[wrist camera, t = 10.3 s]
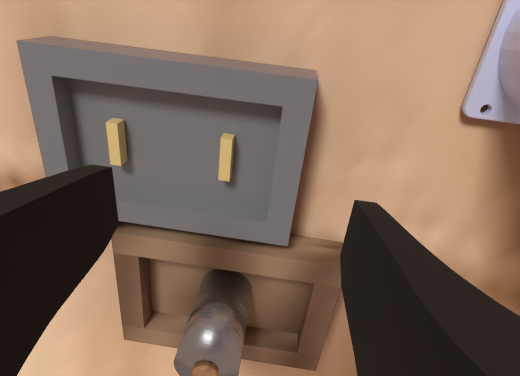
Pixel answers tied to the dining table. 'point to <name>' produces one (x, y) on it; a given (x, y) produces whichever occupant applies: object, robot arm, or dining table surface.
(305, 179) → the dining table surface
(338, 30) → the dining table surface
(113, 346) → the dining table surface
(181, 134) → the grey tray with pegs
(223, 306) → the cell
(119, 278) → the shallow wooden tray
